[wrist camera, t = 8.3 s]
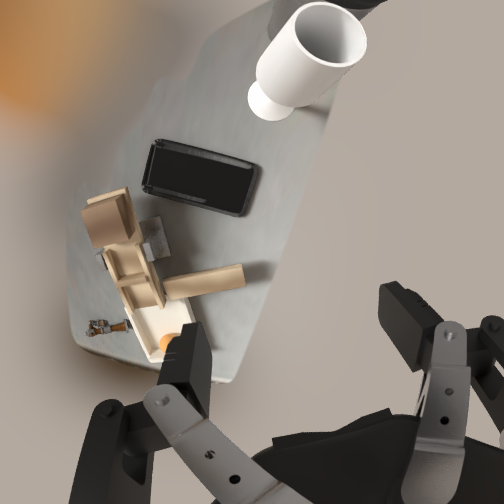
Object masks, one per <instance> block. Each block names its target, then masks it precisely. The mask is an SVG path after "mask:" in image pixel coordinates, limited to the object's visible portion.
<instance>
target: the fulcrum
mask: <svg viewBox="0 0 504 504" xmlns="http://www.w3.org/2000/svg"><path fill="white" fill-rule="evenodd" d="M138 223H139V226H140V229H141V232H142V235H143V238H144V241H145V242H144V243H143V244H142V245H143V248H144V251H145V254H146V257H147V260H148V262H150V261H154V260H155V259H159V258H163V257H168V256H171V251H170V248H169V245H168V241H167V238H166V234H165V230H164V227H163V223H162V219H161V216H157V217H153V218H149V219H145V220H141V221H138ZM104 250H105V249H104V248H103V249H102V250H101V251H100V252H99V253H98V254H96V255H95V256H96V259H97V262H98V265H99V267H100V270H101V272H104V271H107V270H108V267H107V264H106V262H105V259H104V257H103V255H102V253H103V252H104Z"/></svg>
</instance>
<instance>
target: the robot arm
mask: <svg viewBox="0 0 504 504" xmlns="http://www.w3.org/2000/svg"><path fill="white" fill-rule="evenodd" d="M385 1H387V0H276V2H275V5H274V8H273V13H272V16H271V19H270V22H269V25H268V33H269V37H270V39H271V41H273V40H274V38H275V37H276V36H277V34H278V33H279V32H280V30H281V29H282V28H283V27H284V25H285V24H286V23H287V21H288V20H289V19H290V18H291V16H292V15H293V14H294V13H295V12H296V11H297V10H298V9H299V8H300V7H302V6H303V5H305V4H308V3H312V2H327V3H332V4H335V5H338V6H340V7H342V8H344V9H346V10H347V11H349V12H350V13H351V14H352V15H353V16H354V17H355V18H356V19H357V20H358V21H360V20H361V19H362V18H363V17H365V16H366V15H367V14H368V13H369V12H371V11H372V10H373V9H374V8H375V7H377V6H378V5H379V4H380V3H382V2H385ZM378 317H379V322H380V324H381V326H382V328H383V329H384V331H385V332H386V333H387V335H388V336H389V337H390V339H391V341H392V342H393V344H394V345H395V346H396V348H397V349H398V351H399V352H400V354H401V355H402V357H403V358H404V360H405V361H406V363H407V364H408V366H409V367H410V369H411V371H412V372H416V371H418V370H420V369H422V370H423V371H424V374H423V377H422V382H421V386H420V391H419V396H418V400H417V404H416V407H415V411H414V414H413V415H404V414H396V415H392V414H391V411H390V409H389V408H386V409H384V410H381V411H378V412H375V413H372V414H369V415H366V416H363V417H361V418H359V419H357V420H355V421H354V422H352V423H350V424H348V425H347V426H344V427H342V428H341V429H339V430H336V431H332V432H301V433H297V434H292V435H286V436H280V437H275V438H272V442H273V446H271V447H269V448H266V449H264V450H262V451H260V452H259V453H257V454H255V455H254V456H253V457H252V458H250V457H248V456H247V455H246V454H245V453H244V452H243V451H242V450H240V449H239V448H238V447H237V446H236V445H235V444H234V443H233V442H232V441H231V440H229V438H228V437H226V436H225V435H224V434H223V433H222V432H221V431H220V430H219V429H218V428H217V427H216V426H215V425H214V424H213V423H212V422H211V421H210V420H209V404H210V388H211V373H212V353H211V349H210V346H209V343H208V340H207V338H206V335H205V332H204V329H203V326H202V324H201V322H194V323H187V324H183V326H182V330H181V334H180V336H175V337H173V338H172V340H171V341H170V342H169V343H168V345H167V348H166V352H165V355H164V359H163V361H164V362H163V363H162V367H161V370H160V374H159V378H158V382H157V386H155V387H153V388H151V389H150V390H149V391H148V392H147V393H146V394H145V396H144V399H143V401H141V402H138V403H135V404H131V405H128V406H123V404H122V403H121V402H119V401H118V400H116V399H108V400H105V401H103V402H101V403H100V404H98V405H97V406H96V407H95V409H94V411H93V413H92V416H91V420H90V423H89V426H88V429H87V433H86V436H85V439H84V443H83V446H82V450H81V454H80V457H79V461H78V465H77V469H76V473H75V477H74V482H73V486H72V490H71V494H70V499H69V504H150V496H151V483H152V471H153V461H154V452H155V451H159V450H162V449H166V448H169V447H173V448H174V450H175V451H176V452H177V454H178V455H179V456H180V458H181V459H182V460H183V461H184V463H185V464H186V465H187V466H188V467H189V469H190V470H191V471H192V472H193V473H194V475H195V476H196V477H197V478H198V479H199V480H200V482H201V483H202V484H203V485H204V486H205V487H206V488H207V489H208V490H209V491H210V493H211V494H212V495H213V496H214V497H215V498H216V499H215V500H214V501H213V502H212V503H211V504H504V377H503V376H502V375H501V373H500V372H499V371H498V369H497V368H496V367H495V365H494V364H495V362H496V360H497V361H498V362H499V364H500V365H501V366H502V367H503V369H504V319H502V318H500V317H498V316H493V315H490V316H486V317H485V318H483V319H482V322H481V325H480V327H479V328H472V329H465V328H464V327H463V326H462V325H461V324H459V323H457V322H454V321H444V320H443V319H442V318H441V317H440V316H439V315H438V314H437V313H436V312H435V310H434V309H433V308H432V307H431V306H430V305H429V306H428V303H427V302H426V301H425V300H423V298H422V297H421V296H420V295H419V294H417V293H416V292H414V291H412V290H410V289H404V288H403V287H402V286H401V285H400V284H399V283H398V282H397V281H393V282H390V283H386V284H382V285H380V288H379V306H378ZM470 385H471V386H472V388H473V389H474V391H475V392H476V394H477V395H478V397H479V399H480V400H481V402H482V403H483V405H484V407H485V408H486V410H487V411H488V413H489V415H490V417H491V418H492V420H493V422H494V423H495V425H496V427H497V429H498V430H499V432H500V434H501V435H500V447H499V448H497V447H494V446H491V445H488V444H485V443H483V442H480V441H477V440H475V439H472V438H469V437H467V436H465V432H466V425H467V417H468V407H469V396H470Z"/></svg>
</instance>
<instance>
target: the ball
mask: <svg viewBox="0 0 504 504" xmlns="http://www.w3.org/2000/svg"><path fill="white" fill-rule="evenodd" d="M173 337H175V335H173V334H166V335H164V336H163V337H162V338H161V339H160V343H159V345H160V349H161V350H162V351H163V352H164V353H165V352H166V348H167V345H168V343H169V342H170V341H171V340H172V338H173Z"/></svg>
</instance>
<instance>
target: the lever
mask: <svg viewBox="0 0 504 504" xmlns="http://www.w3.org/2000/svg"><path fill="white" fill-rule="evenodd" d="M87 201H88V204H89V205H88V206H86V207H85V208H84V209H82V210H81V211H80V212H81V215H82V218H83V220H84V223H85V226H86V229H87V231H88V234H89V237H90V239H91V242H92V244H93V247H94V249H96V248H100V247H103V246H104V249H105V250H104V252H103V253H102V255H103V257H104V259H105V262H106V264H107V267H108V269H109V271H110V274H111V276H112V278H113V280H114V283H115V285H116V287H117V289H118V291H119V294H120V296H121V298H122V300H123V302H124V304H125V306H126V308H127V310H128V312H129V314H133V313H134V311H135V309H139V308H145V307H151V306H157V305H158V306H159V308H160V310H162V309H164V307H165V304H166V301H167V299H166V297H165V294H164V292H163V289H162V287H161V284H160V282H159V279H158V276H157V274H156V271H155V269H154V266H153V263H152V261H150V262H148V260H147V257H146V254H145V251H144V248H143V245H142V244H143V243H144V242H145V241H144V238H143V235H142V232H141V229H140V226H139V223H138V220H137V217H136V214H135V210H134V207H133V204H132V201H131V197H130V194H129V191H128V187H124V188H121V189H117V190H114V191H111V192H108V193H105V194H102V195H99V196H96V197H93V198H90V199H89V200H87ZM162 284H163V286H164V289H165V291H166V294H167V296H168V299H169V300H174V299H180V298H185V297H191V296H196V295H202V294H207V293H212V292H218V291H223V290H228V289H233V288H238V287H243V286H246V281H245V277H244V272H243V268H242V264H236V265H231V266H226V267H221V268H216V269H211V270H206V271H200V272H195V273H190V274H185V275H180V276H175V277H170V278H165V279H163V281H162Z"/></svg>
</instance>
